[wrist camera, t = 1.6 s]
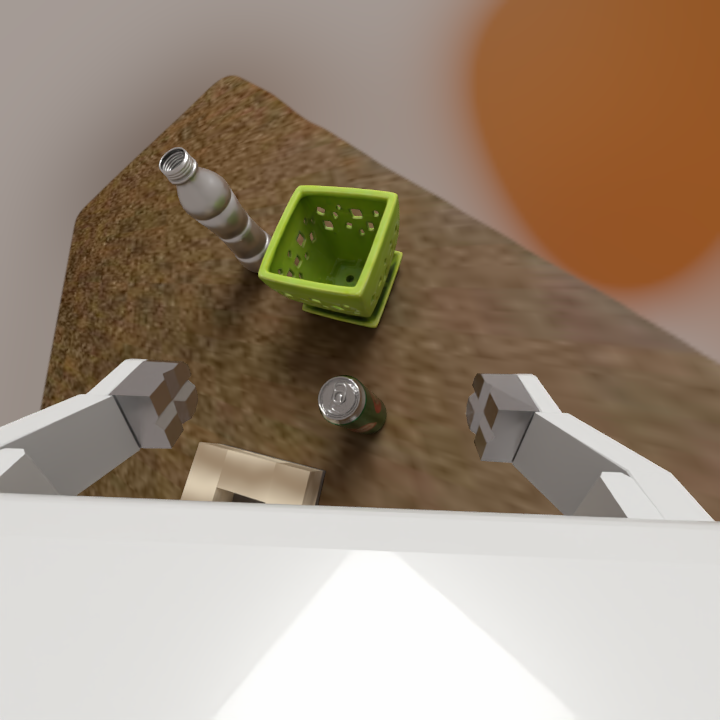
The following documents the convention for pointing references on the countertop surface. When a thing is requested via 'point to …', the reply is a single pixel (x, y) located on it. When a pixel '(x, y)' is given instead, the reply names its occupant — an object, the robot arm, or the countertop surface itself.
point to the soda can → (351, 405)
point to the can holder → (250, 478)
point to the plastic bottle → (215, 207)
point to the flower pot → (336, 253)
